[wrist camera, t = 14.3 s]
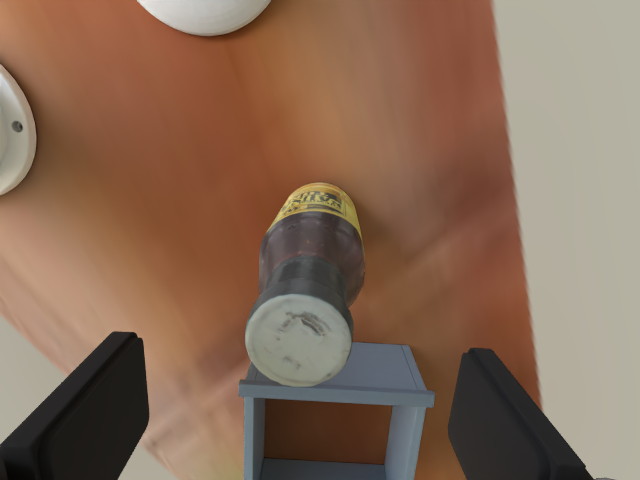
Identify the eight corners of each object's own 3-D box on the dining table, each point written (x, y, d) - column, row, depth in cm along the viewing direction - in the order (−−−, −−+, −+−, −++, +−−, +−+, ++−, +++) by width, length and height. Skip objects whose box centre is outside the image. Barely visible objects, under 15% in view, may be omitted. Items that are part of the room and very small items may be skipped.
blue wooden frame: (253, 466, 40) (238, 539, 33) (255, 332, 36) (238, 384, 28) (392, 473, 40) (408, 548, 33) (412, 341, 36) (435, 395, 29)
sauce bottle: (339, 168, 31) (364, 226, 12) (365, 234, 33) (423, 377, 14) (268, 197, 32) (188, 296, 13) (297, 260, 34) (264, 431, 15)
